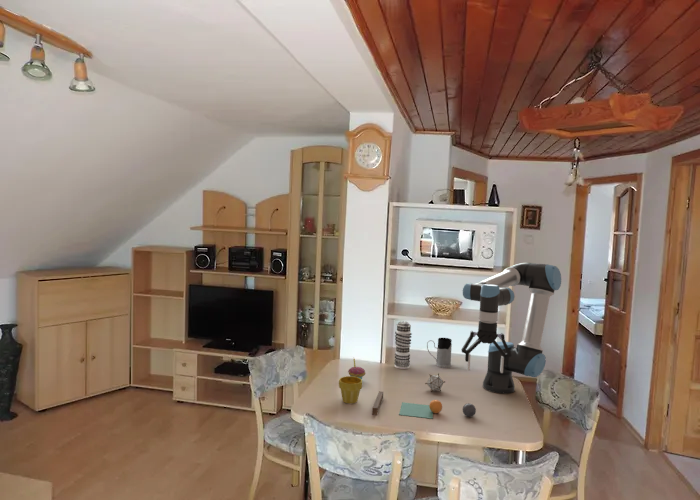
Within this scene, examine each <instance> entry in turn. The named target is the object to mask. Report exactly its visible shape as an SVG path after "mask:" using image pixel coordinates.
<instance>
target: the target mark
mask: <svg viewBox="0 0 700 500" xmlns="http://www.w3.org/2000/svg"><path fill="white" fill-rule="evenodd" d="M400 405H401V406H400V409H399V412H398V415H399V416H404V417H405V416H406V417H412V418H422V419H429V420H431V419H432V420H433V418H434V413H433V412H432V411H431V410H430V408H429V404H422V403H421V404H419V403H414V402H413V403H412V402H404V401H402V402H401V404H400Z"/></svg>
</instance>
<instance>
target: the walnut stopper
mask: <svg viewBox="0 0 700 500" xmlns="http://www.w3.org/2000/svg"><path fill="white" fill-rule="evenodd" d="M383 399H384V391H382V390H381V391H379V390H378V393H377V396H376V399H375V400H374V403H373V406H372V410H371V414H372V416H378V413H379V410H380V408H381V405H382V402H383Z"/></svg>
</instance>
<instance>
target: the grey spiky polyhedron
mask: <svg viewBox="0 0 700 500" xmlns="http://www.w3.org/2000/svg"><path fill="white" fill-rule="evenodd" d="M428 375H429V378H428V379H427V382H425V383H424V384H425V385H427V386H428V387H429V389H430V392H431V393H432V392H433V391H440V392H442V390H441V389H442V387H443V385H444V383H446V381H444V380H443V379H442V378H441V376H440V373H437V374H434V375H431V374H429V373H428Z"/></svg>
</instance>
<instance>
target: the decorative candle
mask: <svg viewBox="0 0 700 500" xmlns="http://www.w3.org/2000/svg"><path fill="white" fill-rule="evenodd" d="M411 327H412V326H411V324H410V322H408V321H404V320H403V321H399V322H398V323H396V331H395V333H394V334H395V335H394V337H395V338H394V340H395V342H394V343H395V353H394V368H396V369H401V370H407V369H409V368H410V365H411V364H410V363H411V360H410V359H411V354H410V353H411V352H410V348H411V344H412V342H411V341H412V339H411V338H412V335H413V333H412V332H411Z"/></svg>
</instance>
